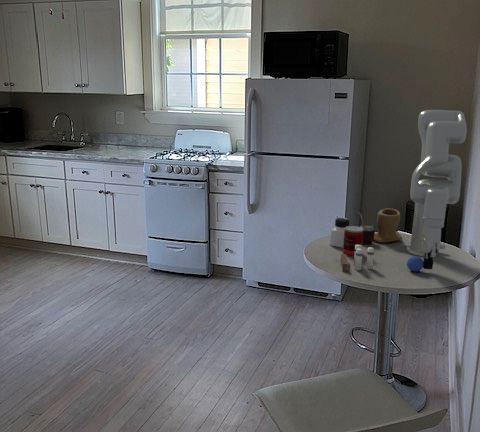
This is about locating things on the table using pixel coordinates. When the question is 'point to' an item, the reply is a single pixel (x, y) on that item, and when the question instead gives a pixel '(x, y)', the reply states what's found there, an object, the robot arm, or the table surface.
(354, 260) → the back pin right
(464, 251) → the table surface
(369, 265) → the front pin
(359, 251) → the back pin left
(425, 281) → the table surface
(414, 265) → the ball
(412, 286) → the table surface
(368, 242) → the mate gourd
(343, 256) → the stopper wall
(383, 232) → the stone cup
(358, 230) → the canned food
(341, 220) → the medicine bottle
